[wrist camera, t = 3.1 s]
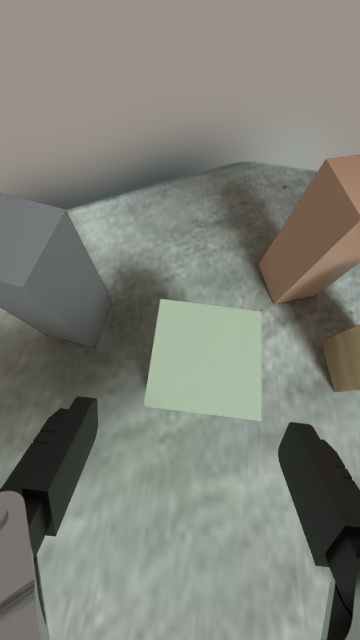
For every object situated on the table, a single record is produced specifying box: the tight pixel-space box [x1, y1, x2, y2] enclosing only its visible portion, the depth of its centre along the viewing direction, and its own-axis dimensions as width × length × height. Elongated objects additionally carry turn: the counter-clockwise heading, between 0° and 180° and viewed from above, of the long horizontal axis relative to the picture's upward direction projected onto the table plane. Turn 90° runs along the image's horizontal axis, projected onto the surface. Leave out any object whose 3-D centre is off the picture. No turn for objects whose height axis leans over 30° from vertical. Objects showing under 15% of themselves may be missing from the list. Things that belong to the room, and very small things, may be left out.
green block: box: [144, 299, 261, 421], centre depth 14 cm, size 4×4×10 cm
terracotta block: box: [258, 155, 360, 304], centre depth 17 cm, size 4×4×10 cm
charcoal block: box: [0, 193, 112, 348], centre depth 15 cm, size 4×4×10 cm
